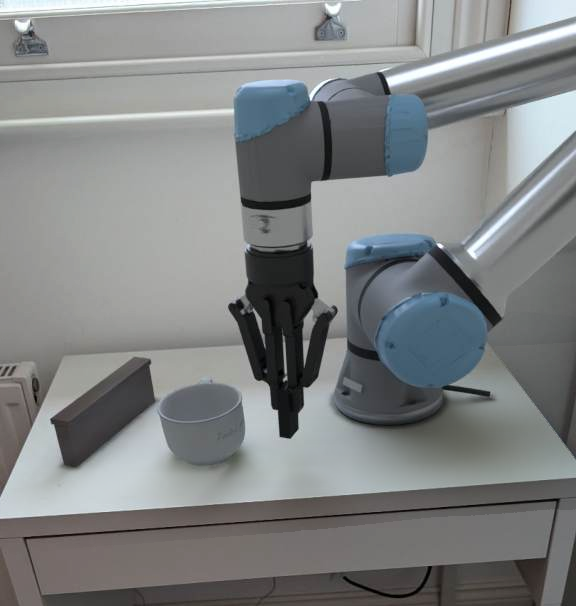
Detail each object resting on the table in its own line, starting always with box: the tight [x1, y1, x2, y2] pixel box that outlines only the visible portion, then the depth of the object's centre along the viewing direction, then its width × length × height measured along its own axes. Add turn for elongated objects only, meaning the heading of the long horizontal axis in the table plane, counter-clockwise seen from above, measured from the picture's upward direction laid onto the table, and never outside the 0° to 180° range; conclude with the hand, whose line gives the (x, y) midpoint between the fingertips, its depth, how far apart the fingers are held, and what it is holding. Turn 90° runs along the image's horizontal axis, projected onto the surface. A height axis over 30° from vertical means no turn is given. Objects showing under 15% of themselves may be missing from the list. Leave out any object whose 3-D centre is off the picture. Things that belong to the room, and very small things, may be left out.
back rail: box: [49, 356, 156, 468], centre depth 111 cm, size 3×20×7 cm, turn 157°
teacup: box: [156, 376, 246, 466], centre depth 105 cm, size 14×11×8 cm
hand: (289, 432), depth 101 cm, fingers closed
